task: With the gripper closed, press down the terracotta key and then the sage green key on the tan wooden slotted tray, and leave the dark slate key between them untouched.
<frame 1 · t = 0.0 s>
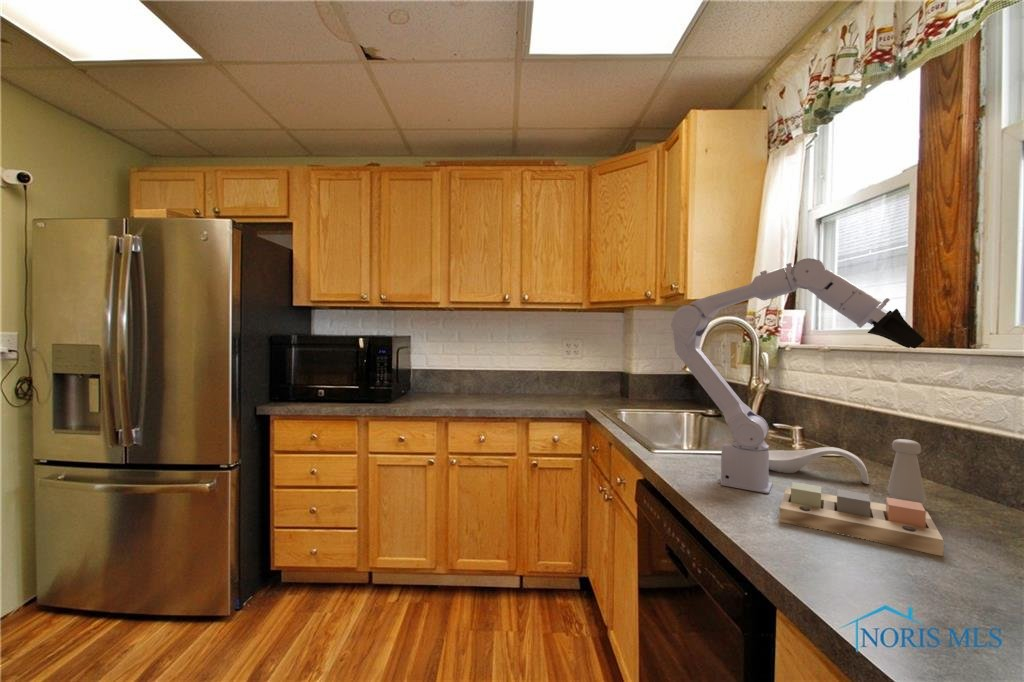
hand: (916, 344, 83), 32 cm above the counter, tool tilted 50°, fingers open, 7 cm apart
light grey curved piece: (807, 474, 110), on the counter
key terracotta: (904, 512, 75), point 4 cm above the counter, slide at 0.0 cm
key sage: (806, 495, 83), point 4 cm above the counter, slide at 0.0 cm
salt shaker: (906, 506, 88), on the counter
key slate: (853, 503, 79), point 4 cm above the counter, slide at 0.0 cm
tan wooden slotted tray: (852, 523, 79), on the counter
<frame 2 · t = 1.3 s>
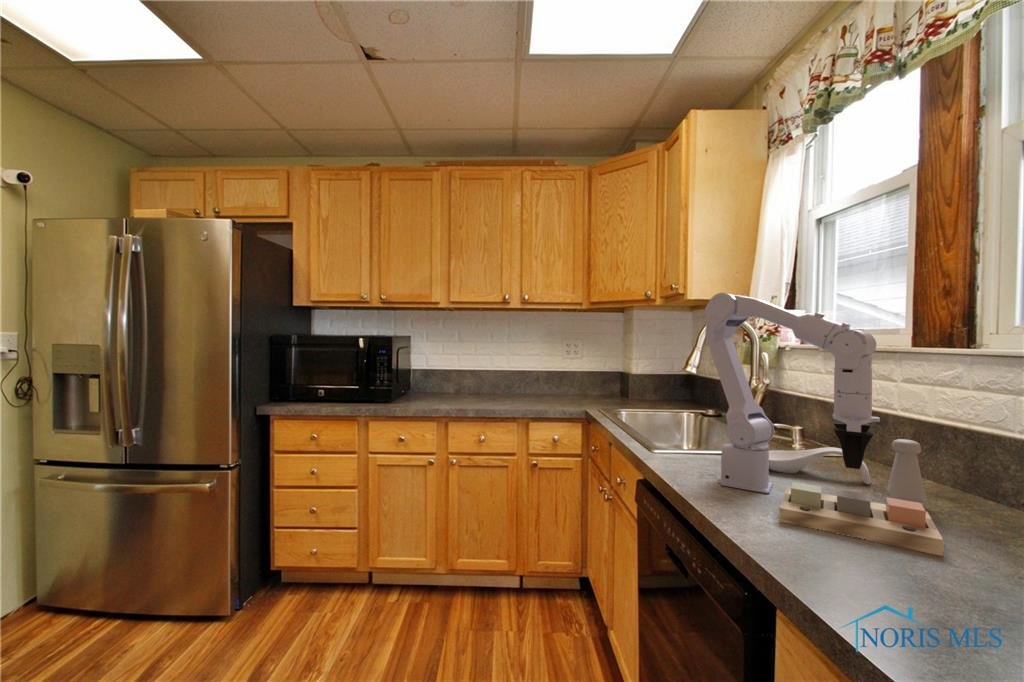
hand: (852, 463, 84), 9 cm above the counter, tool pointing down, fingers open, 6 cm apart
nothing on the counter moved.
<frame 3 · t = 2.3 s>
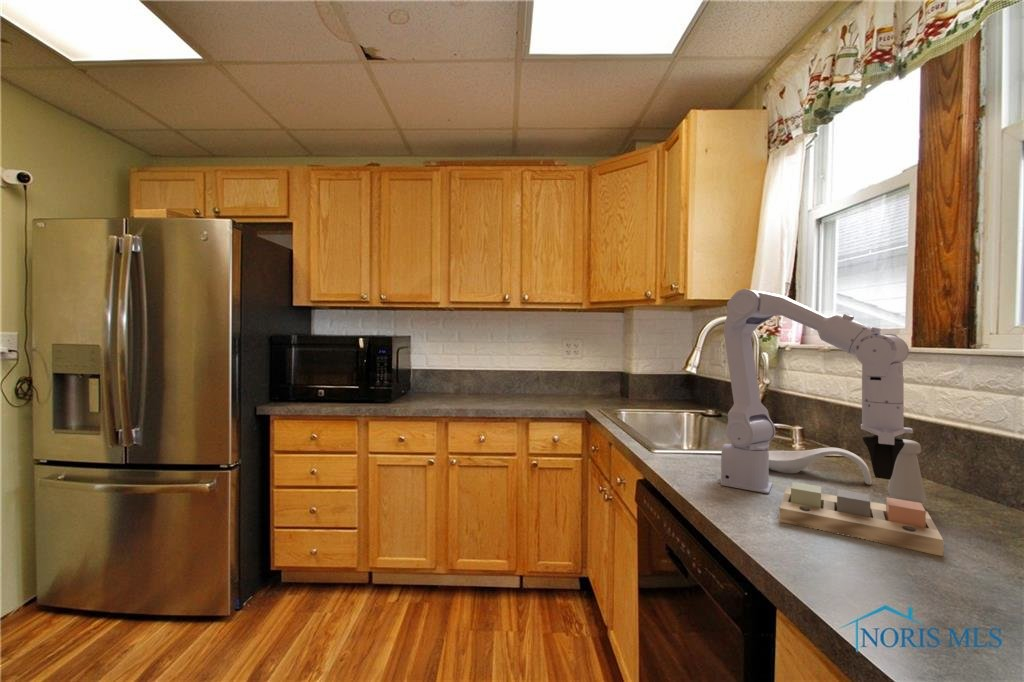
hand: (882, 477, 79), 8 cm above the counter, tool pointing down, fingers closed
nothing on the counter moved.
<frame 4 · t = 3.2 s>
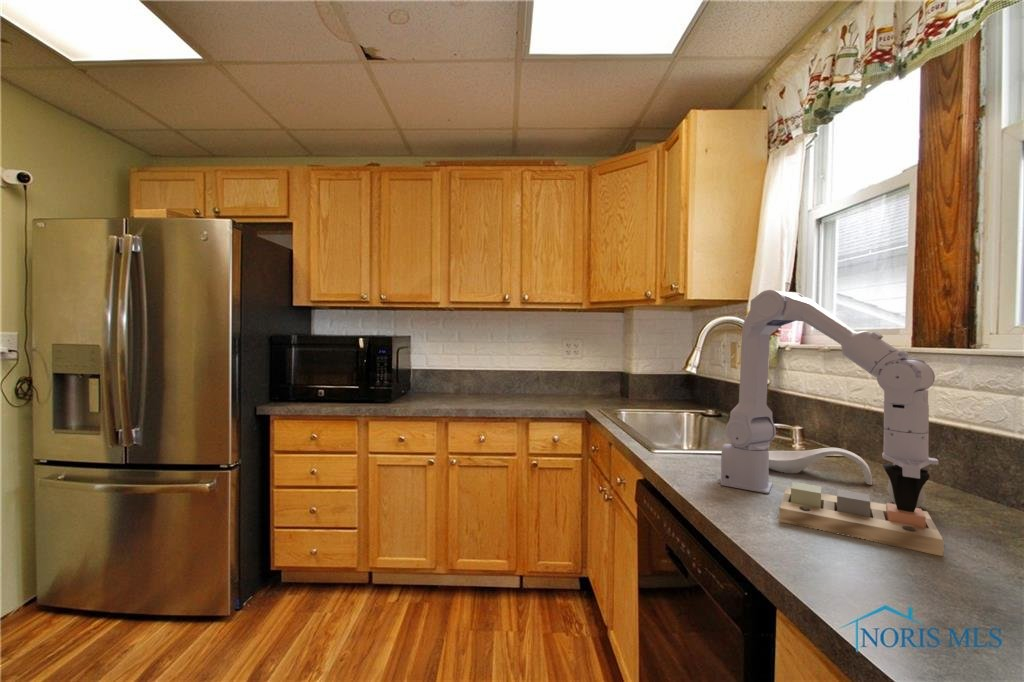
hand: (905, 509, 75), 4 cm above the counter, tool pointing down, fingers closed, pressing on key terracotta
key terracotta: (904, 518, 75), point 3 cm above the counter, slide at 1.0 cm, touching gripper
everything else where it was.
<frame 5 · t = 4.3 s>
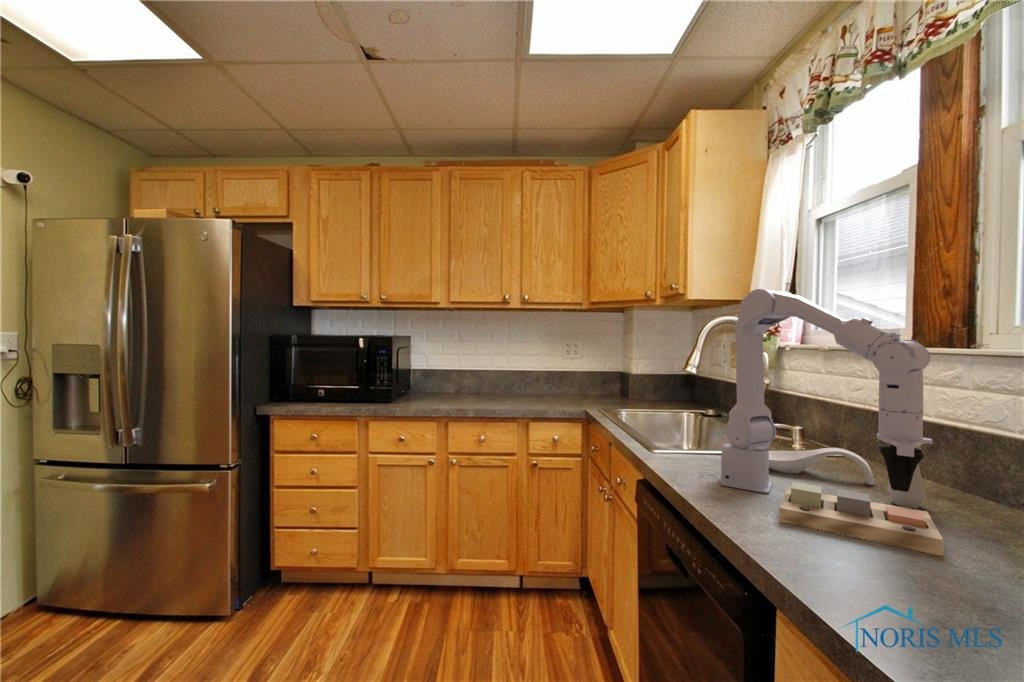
hand: (899, 489, 76), 7 cm above the counter, tool pointing down, fingers closed
key terracotta: (904, 521, 75), point 2 cm above the counter, slide at 1.6 cm
everything else where it was.
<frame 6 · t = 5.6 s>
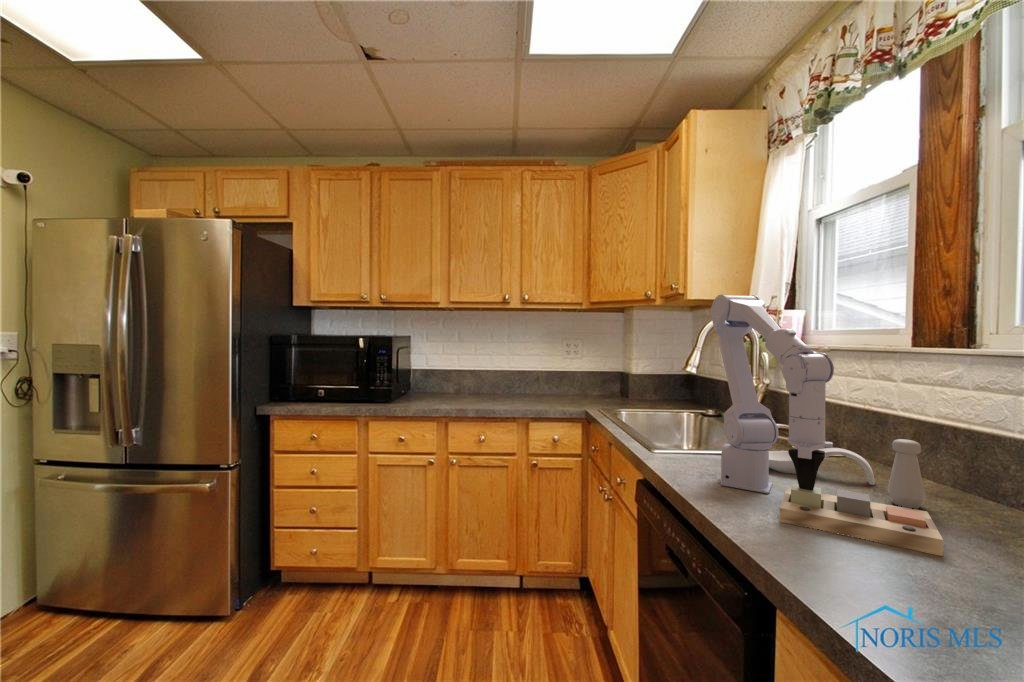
hand: (806, 488, 83), 5 cm above the counter, tool pointing down, fingers closed, pressing on key sage
key sage: (806, 496, 83), point 3 cm above the counter, slide at 0.2 cm, touching gripper
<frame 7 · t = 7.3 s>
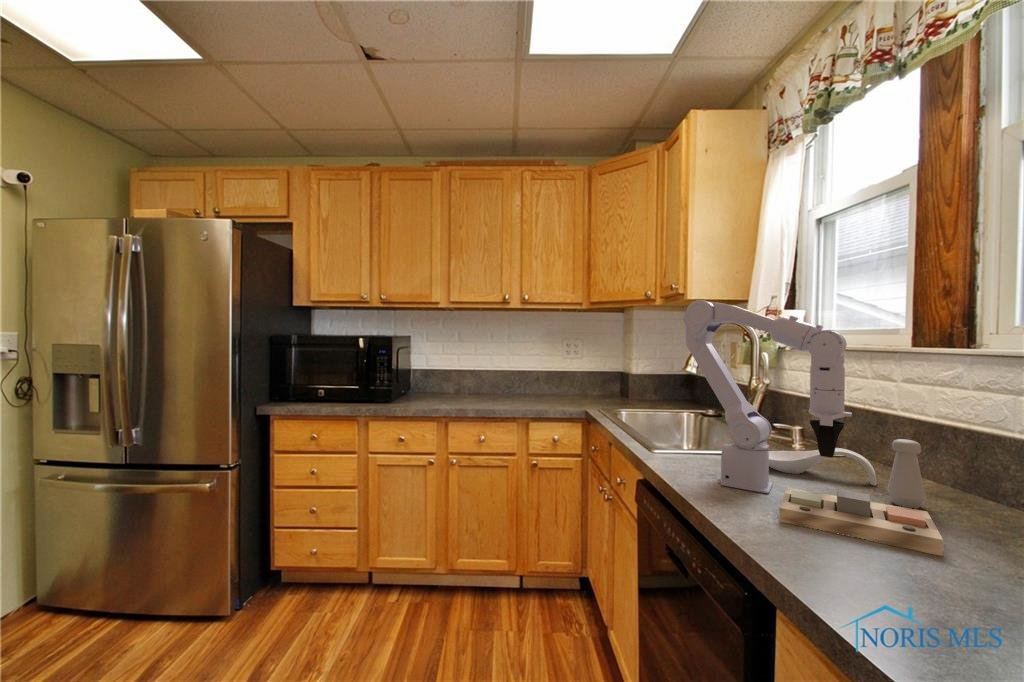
hand: (826, 456, 90), 9 cm above the counter, tool pointing down, fingers closed
key sage: (806, 503, 83), point 2 cm above the counter, slide at 1.6 cm
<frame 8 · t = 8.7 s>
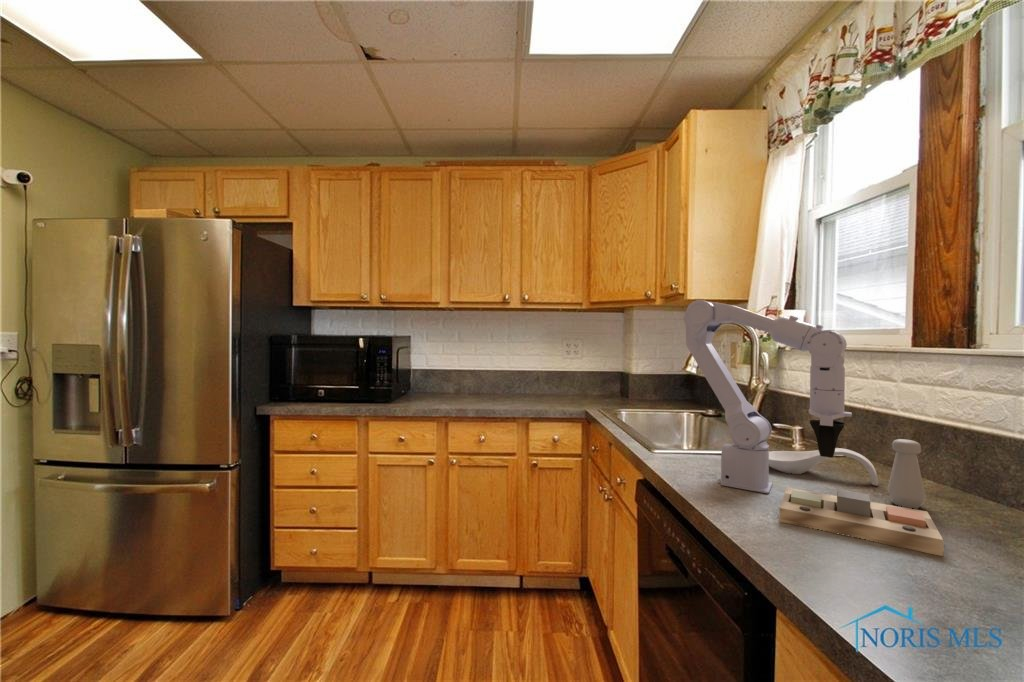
hand: (826, 456, 90), 9 cm above the counter, tool pointing down, fingers closed
at the end: key terracotta slide at 1.6 cm; key sage slide at 1.6 cm; key slate slide at 0.0 cm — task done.
